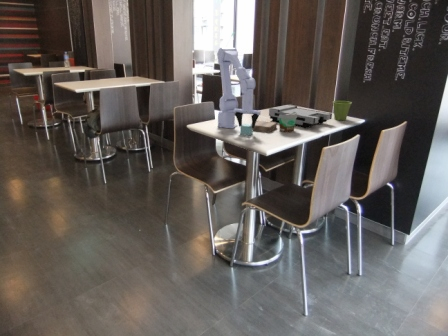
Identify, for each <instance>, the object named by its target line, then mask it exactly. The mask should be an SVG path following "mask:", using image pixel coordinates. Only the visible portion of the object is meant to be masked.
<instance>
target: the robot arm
mask: <svg viewBox="0 0 448 336" xmlns="http://www.w3.org/2000/svg"><path fill="white" fill-rule="evenodd" d="M216 54H217V55H216V56H217V63H218V65H219V69H220V70H219V71H220V78H221V86H222V96H221V97H220V98H219V105H218V106H219V112H218V113H217V114H218V115H217V128H225V129H226V128H227V129H234V128H235V127H237V126H239V127H241V125H243V116H244V114H246V115H251V124H252V128H254V127H255V123H256V121H258V119H259V116H261V111H260V110H256V109H254V105H253V104H254V90H255V89H256V87H257V84H256V83H257V82H256V80H255V78H254V77H252V76H250V74H249V72H248V71H247V69H246V67H243V65H242V63H241V61H240V58H239V51H238V50H237V48H236V47H219V48H218V51H217V53H216ZM230 65H232V66H233V68H234V69H235V71H236V72H235V75H236V77H237V78H238V80H239V82H240V84H239V86H240V91H241V96H242V97H241V108H239V102H238V100H237V96H235V95H234V94H233V90H232V89H233V86H232V78H231V71H230V70H231V69H230ZM235 117H236V118H235ZM235 120H237V123H238V125H237V124H235V123H236V121H235Z"/></svg>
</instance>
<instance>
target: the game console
mask: <svg viewBox="0 0 448 336" xmlns="http://www.w3.org/2000/svg"><path fill="white" fill-rule="evenodd" d="M293 112H296V113H297V118H296V122H295V127H299V128H303V129H309V128H312V127H313V126H316V125H317V126H318V125H321V124H324V123H325V122H328V121H329V120H332V117H333V113H330V112H325V111H319V110H315V109H314V110H311V109H307V108H306V109H305V108H301V107H298V106H297V105H293V104H285V105H284V104H283V105H281V106H279V105H278V106H275V107H270V108H269V109H268V116H269V119H270V120H271V122H274V123H277V124H278V123H279V114H283V115H285V114H292V113H293Z"/></svg>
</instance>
